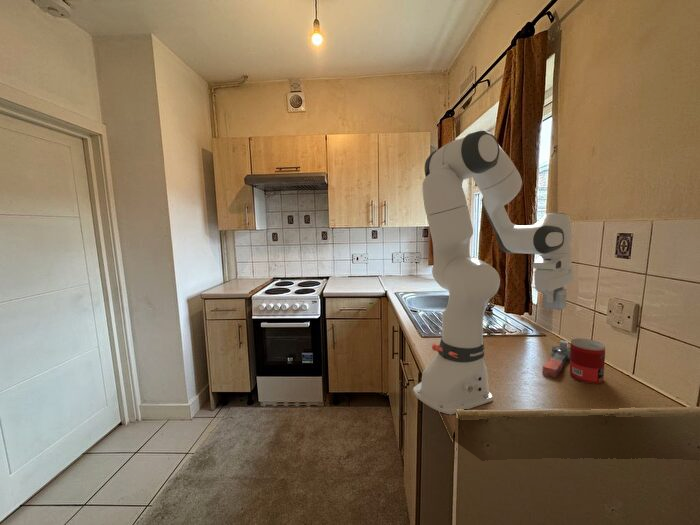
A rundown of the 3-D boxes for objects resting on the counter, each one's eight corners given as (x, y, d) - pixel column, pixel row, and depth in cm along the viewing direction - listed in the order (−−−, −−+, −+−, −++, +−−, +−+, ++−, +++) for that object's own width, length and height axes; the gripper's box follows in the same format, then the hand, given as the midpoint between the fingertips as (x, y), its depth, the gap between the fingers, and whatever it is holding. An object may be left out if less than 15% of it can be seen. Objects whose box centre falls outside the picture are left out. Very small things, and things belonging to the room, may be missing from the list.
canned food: (606, 386, 81) (608, 350, 80) (570, 380, 85) (572, 345, 84) (600, 374, 88) (602, 340, 86) (567, 369, 92) (569, 336, 90)
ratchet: (562, 380, 85) (563, 363, 85) (535, 372, 91) (536, 356, 90) (578, 356, 100) (578, 341, 99) (554, 350, 105) (554, 336, 104)
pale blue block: (559, 310, 95) (559, 291, 94) (543, 307, 99) (543, 289, 99) (566, 307, 98) (566, 288, 97) (549, 304, 102) (549, 286, 101)
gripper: (558, 256, 105) (557, 293, 106) (530, 264, 94) (530, 304, 96) (578, 257, 99) (578, 295, 101) (552, 265, 89) (551, 308, 90)
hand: (554, 300), depth 98 cm, fingers closed on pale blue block, 5 cm apart
